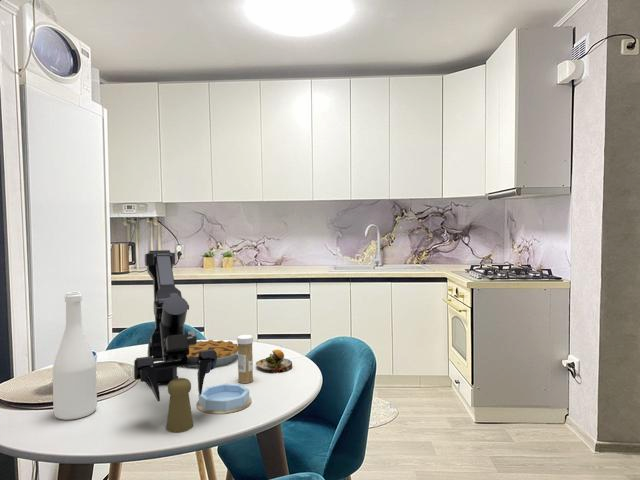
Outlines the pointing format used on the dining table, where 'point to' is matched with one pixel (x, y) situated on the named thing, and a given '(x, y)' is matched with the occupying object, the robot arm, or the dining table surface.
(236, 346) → the pie
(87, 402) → the wine bottle
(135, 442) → the dining table surface
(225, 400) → the bowl
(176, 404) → the cork
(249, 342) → the sprinkles bottle
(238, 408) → the placemat
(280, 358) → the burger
